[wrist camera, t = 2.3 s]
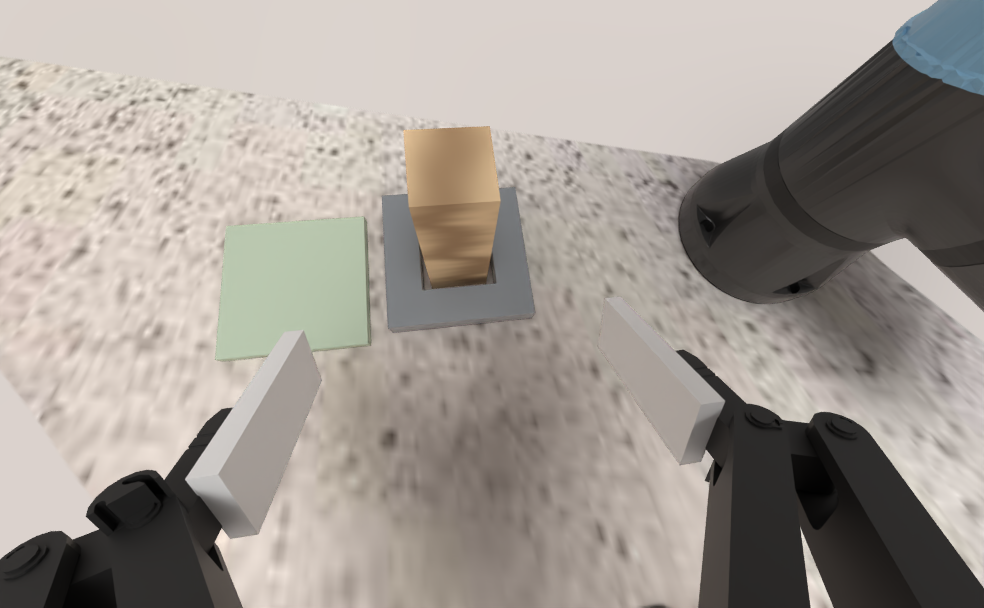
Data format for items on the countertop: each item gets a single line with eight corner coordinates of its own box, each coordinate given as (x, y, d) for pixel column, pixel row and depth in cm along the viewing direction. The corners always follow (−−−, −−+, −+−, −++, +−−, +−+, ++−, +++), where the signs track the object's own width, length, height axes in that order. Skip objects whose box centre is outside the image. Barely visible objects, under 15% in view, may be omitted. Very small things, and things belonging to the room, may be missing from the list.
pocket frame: (512, 198, 35) (515, 187, 33) (531, 318, 32) (535, 312, 30) (386, 207, 34) (381, 195, 32) (392, 332, 31) (387, 328, 29)
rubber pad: (366, 221, 33) (363, 216, 32) (370, 345, 30) (367, 343, 29) (233, 231, 32) (226, 226, 31) (223, 361, 29) (215, 360, 28)
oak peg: (479, 235, 34) (489, 126, 20) (485, 283, 33) (500, 200, 19) (428, 239, 33) (403, 130, 20) (432, 288, 32) (408, 207, 19)
